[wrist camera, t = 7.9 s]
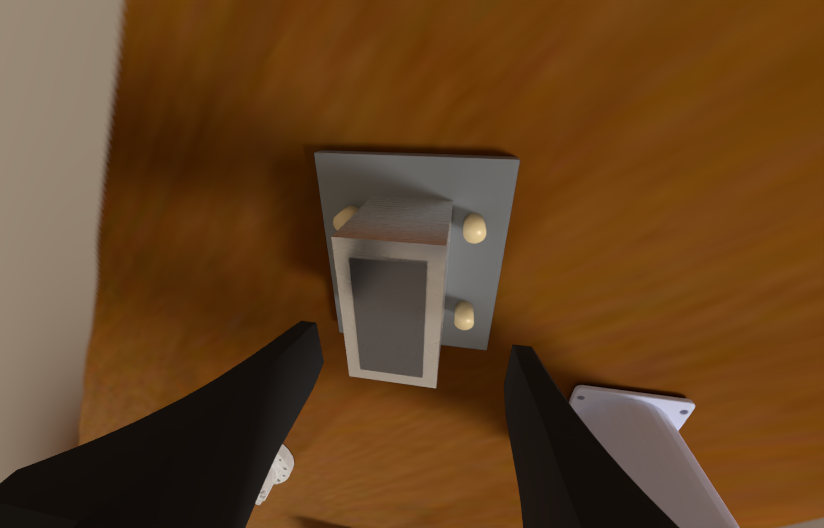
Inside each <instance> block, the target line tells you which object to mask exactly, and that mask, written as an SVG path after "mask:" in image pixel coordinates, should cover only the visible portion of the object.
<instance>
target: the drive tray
mask: <svg viewBox="0 0 824 528" xmlns="http://www.w3.org/2000/svg"><path fill="white" fill-rule="evenodd" d="M314 156H315V163H316V170H317V177H318V184H319V191H320V198H321V206H322V213H323V220H324V227H325V234H326V241H327V248H328V255H329V262H330V269H331V276H332V283H333V290H334V297H335V304H336V311H337V318H338V325H339V332H340V333H344V331H343V323H342V315H341V308H340V300H339V292H338V285H337V277H336V269H335V262H334V254H333V246H332V239H331V237H332V236H333V235H334V234H335V233H336V232H337V231H338V230H339V229H340V228H341V227H342V226H343V225H344V224H345V223H346V222H347V221H348V220H349V219H350V218H351V217H352V216H353V215H354V214H355V213H356V212H357V211H358V210H359V209H360V208H361V207H362V206H363V205H364V204H365V203H366V202H367V201H368V200H369V199H370V198H371V197H372V196H384V197H401V198H419V199H437V200H453V207H452V220H451V233H450V245H449V258H448V271H447V284H446V297H445V309H444V320H443V329H442V339H441V345H446V346H454V347H462V348H471V349H479V350H487V345H488V340H489V334H490V328H491V322H492V317H493V311H494V305H495V299H496V294H497V288H498V282H499V277H500V271H501V265H502V259H503V254H504V248H505V242H506V236H507V231H508V225H509V219H510V214H511V208H512V202H513V196H514V191H515V185H516V179H517V173H518V168H519V162H520V159H519V158H518V157H512V156H482V155H452V154H422V153H392V152H362V151H332V150H321V151H318V152H315V153H314Z"/></svg>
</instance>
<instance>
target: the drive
mask: <svg viewBox="0 0 824 528" xmlns="http://www.w3.org/2000/svg"><path fill="white" fill-rule="evenodd" d="M452 207H453V200H437V199H419V198H401V197H384V196H372V197H371V198H370V199H369V200H368V201H367V202H366V203H365V204H364V205H363V206H362V207H361V208H360V209H359V210H358V211H357V212H356V213H355V214H354V215H353V216H352V217H351V218H350V219H349V220H348V221H347V222H346V223H345V224H344V225H343V226H342V227H341V228H340V229H339V230H338V231H337V232H336V233H335V234H334V235H333V236H332V237H331V239H332V246H333V254H334V262H335V269H336V277H337V285H338V292H339V300H340V308H341V315H342V323H343V331H344V338H345V346H346V354H347V361H348V369H349V376H353V377H360V378H367V379H374V380H381V381H388V382H395V383H402V384H409V385H416V386H423V387H430V388H436V385H437V376H438V367H439V357H440V348H441V339H442V329H443V320H444V309H445V297H446V284H447V271H448V258H449V245H450V233H451V220H452Z"/></svg>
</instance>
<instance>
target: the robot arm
mask: <svg viewBox="0 0 824 528" xmlns="http://www.w3.org/2000/svg"><path fill="white" fill-rule="evenodd" d="M323 363H324V360H323V355H322V350H321V345H320V340H319V335H318V330H317V325H316V323H315V322H306V321H300V322H299V323H297V324H296V325H294V326H293V327H291V328H290V329H289V330H287V331H286V332H284V333H283V334H282V335H280V336H279V337H277V338H276V339H275V340H273V341H272V342H271V343H269V344H268V345H266V346H265V347H263V348H262V349H261V350H259V351H258V352H256V353H255V354H253V355H252V356H251V357H249V358H248V359H246V360H245V361H243V362H241V363H240V364H238V365H237V366H235V367H234V368H232V369H231V370H229V371H228V372H226V373H225V374H223V375H221V376H220V377H218V378H217V379H215V380H213V381H212V382H210V383H208V384H207V385H205V386H203V387H201V388H200V389H198V390H196V391H194V392H193V393H191V394H189V395H187V396H185V397H184V398H182V399H180V400H178V401H176V402H174V403H172V404H170V405H168V406H166V407H164V408H162V409H160V410H158V411H156V412H154V413H152V414H150V415H148V416H146V417H144V418H142V419H140V420H138V421H136V422H134V423H131V424H129V425H127V426H125V427H123V428H120V429H118V430H116V431H114V432H111V433H109V434H107V435H104V436H102V437H100V438H97V439H95V440H93V441H90V442H88V443H86V444H83V445H81V446H78V447H76V448H73V449H71V450H68V451H66V452H63V453H60V454H58V455H55V456H53V457H50V458H47V459H45V460H42V461H39V462H37V463H35V464H32V465H29V466H26V467H24V468H21V469H18V470H16V471H15V472H14V473H12V474H11V475H10V476H9V477H7V478H6V479H5V480H4V481H3V482H1V483H0V528H245V527H246V524H247V522H248V520H249V517H250V515H251V512H252V510H253V508H254V505H255V503H256V500H257V498H258V496H259V493H260V491H261V489H262V486H263V484H264V482H265V480H266V477H267V475H268V473H269V471H270V468H271V466H272V464H273V462H274V459H275V457H276V455H277V453H278V451H279V449H280V448H281V446H282V444H283V442H284V440H285V438H286V437H287V435H288V433H289V431H290V429H291V428H292V426H293V424H294V422H295V420H296V419H297V417H298V415H299V413H300V411H301V410H302V408H303V406H304V404H305V402H306V400H307V399H308V397H309V395H310V393H311V391H312V389H313V387H314V385H315V383H316V380H317V378H318V376H319V373H320V370H321V368H322V365H323ZM504 396H505V411H506V419H507V425H508V431H509V437H510V442H511V448H512V453H513V459H514V465H515V470H516V476H517V481H518V487H519V494H520V501H521V509H522V520H523V528H740V527H739V526H738V524H737V523H736V521H735V519H734V518H733V516H732V515H731V513H730V512H729V510H728V509H727V507H726V505H725V504H724V502H723V501H722V499H721V498H720V496H719V494H718V493H717V491H716V490H715V488H714V487H713V485H712V484H711V482H710V480H709V479H708V477H707V476H706V474H705V473H704V471H703V470H702V468H701V466H700V465H699V463H698V462H697V460H696V459H695V457H694V456H693V454H692V452H691V451H690V449H689V448H688V446H687V445H686V443H685V441H684V440H683V438H682V437H681V435H680V434H679V432H678V431H679V429H680V428H681V426H682V425H683V424H684V422H685V421H686V419H687V418H688V417H689V415H690V414H691V413H692V411H693V410H694V408H695V404H694V403H693V402H692V401H691V400H690V399H685V398H677V397H670V396H662V395H655V394H647V393H639V392H632V391H624V390H616V389H609V388H601V387H594V386H586V385H578V386H576V387H575V388H574V391H573V393H572V396H571V398H570V401H569V402H568V401H567V399H566V398H565V396H564V395H563V394H562V392H561V391H560V389H559V388H558V387H557V385H556V384H555V382H554V381H553V379H552V378H551V376H550V375H549V373H548V372H547V370H546V368H545V367H544V365H543V364H542V362H541V361H540V359H539V357H538V356H537V354H536V353H535V351H534V349H533V348H532V347H529V346H520V345H513V346H512V350H511V355H510V359H509V364H508V369H507V373H506V378H505V382H504Z"/></svg>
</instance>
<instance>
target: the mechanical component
mask: <svg viewBox="0 0 824 528" xmlns="http://www.w3.org/2000/svg"><path fill="white" fill-rule="evenodd" d="M293 466H294V459H293V456H292V455H291V453H290V451H289V450H288V449H287V448H286V447H285V446H284V445H283V444H282V446H281V448H280V449H279V451H278V453H277V455H276V457H275V459H274V462H273V464H272V466H271V468H270V471H269V473H268V475H267V477H266V480H265V482H264V484H263V486H262V489H261V491H260V493H259V496H258V498H257V500H256V503H255V504H257V505H260V504H261V502H262V501H264V500H265V499H266V497H267V496H268V494H269V492H270V490H271V488H272V486H273V484H278V483H282V482H284V481H286V480H287V479H288V477H289V475H290V473H291V471H292V469H293Z"/></svg>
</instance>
